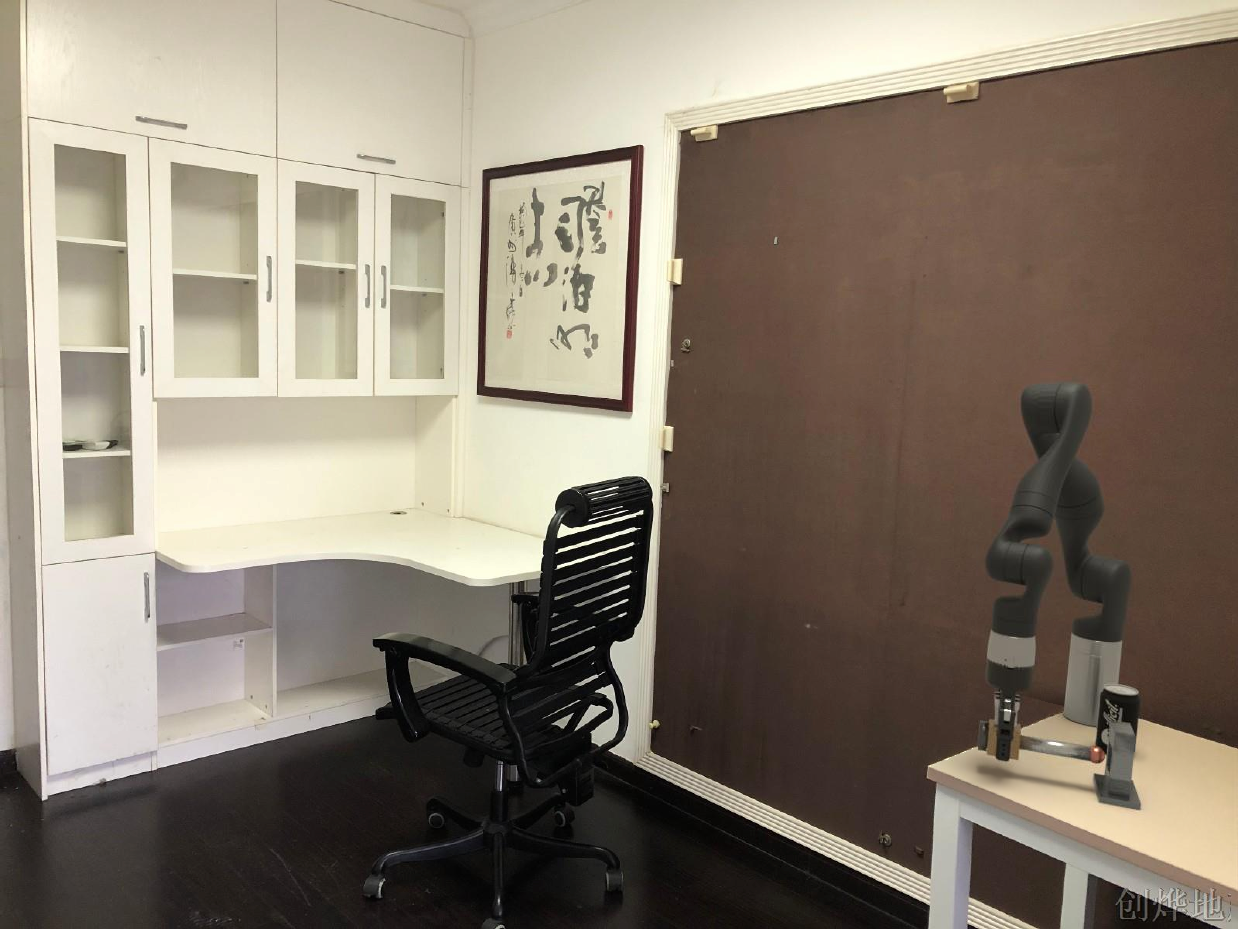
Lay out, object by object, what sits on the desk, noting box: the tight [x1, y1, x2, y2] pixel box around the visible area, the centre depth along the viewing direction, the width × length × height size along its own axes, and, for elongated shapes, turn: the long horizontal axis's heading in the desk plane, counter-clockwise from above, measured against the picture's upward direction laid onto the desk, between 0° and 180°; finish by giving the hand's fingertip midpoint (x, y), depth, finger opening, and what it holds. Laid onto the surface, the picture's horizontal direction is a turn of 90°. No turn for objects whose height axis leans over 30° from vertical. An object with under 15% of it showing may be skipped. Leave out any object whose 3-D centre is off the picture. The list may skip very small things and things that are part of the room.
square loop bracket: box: [1092, 720, 1142, 811], centre depth 160 cm, size 10×6×11 cm, turn 159°
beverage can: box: [1095, 683, 1141, 755], centre depth 178 cm, size 7×7×12 cm
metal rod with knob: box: [977, 718, 1106, 765], centre depth 164 cm, size 20×5×5 cm, turn 69°
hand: (1002, 754), depth 166 cm, fingers closed on metal rod with knob, 4 cm apart
